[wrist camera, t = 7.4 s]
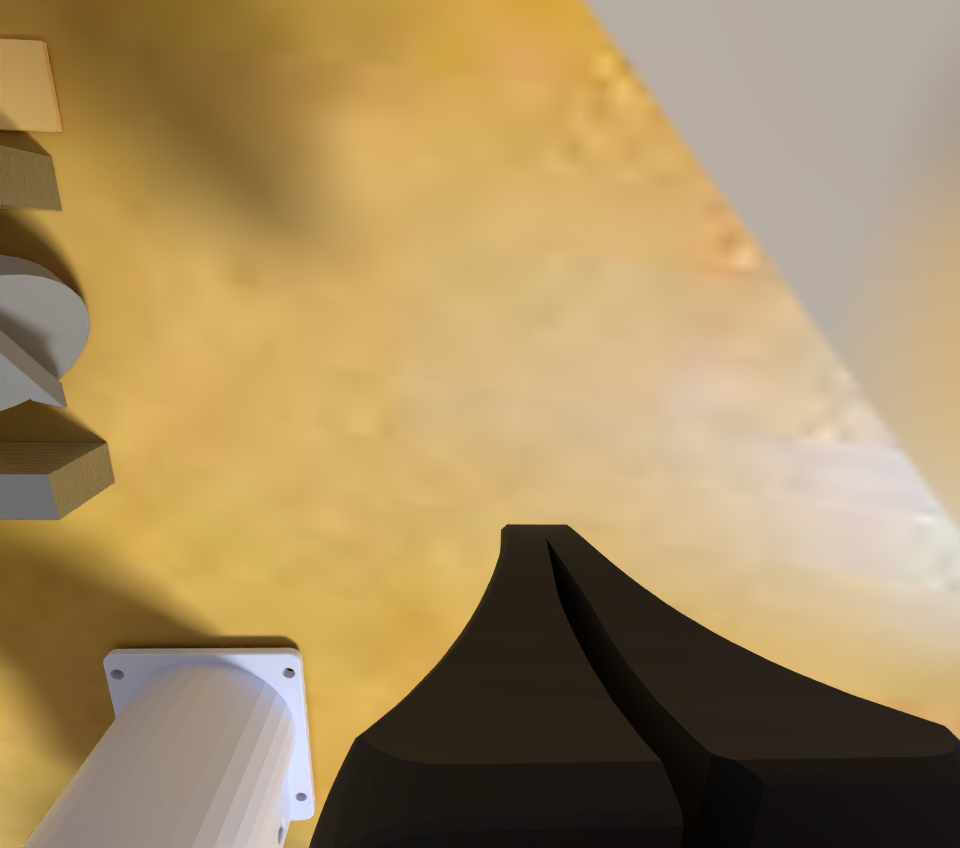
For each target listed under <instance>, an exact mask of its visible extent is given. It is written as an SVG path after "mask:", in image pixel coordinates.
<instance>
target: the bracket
mask: <svg viewBox="0 0 960 848" xmlns="http://www.w3.org/2000/svg"><path fill="white" fill-rule="evenodd" d="M0 209H12V210H46V211H62V210H61V204H60V199H59V194H58V189H57V184H56V179H55V174H54V168H53V163H52V158H51V157H50V156H46V155H42V154H38V153H33V152H29V151H25V150H20V149H16V148H12V147H8V146H3V145H0ZM113 483H115V482H114V477H113V472H112V467H111V462H110V456H109V451H108V446H107V443H82V442H0V520H60V519H61V518H63V517H64V516H66V515H67V514H69V513H70V512H72V511H73V510H75V509H76V508H78V507H79V506H80V505H82V504H83V503H85V502H86V501H88V500H89V499H91V498H92V497H94V496H95V495H97V494H98V493H100V492H101V491H103V490H104V489H106V488H107V487H109V486H110V485H112V484H113Z"/></svg>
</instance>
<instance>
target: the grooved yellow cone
mask: <svg viewBox="0 0 960 848" xmlns="http://www.w3.org/2000/svg"><path fill="white" fill-rule="evenodd" d="M89 320H90V319H89V315H88V311H87V308H86V306H85V304H84V303H83V301H82V299H81V298H80V297H79V296H78V295H77V294H76V293H75V292H74V291H73V290H72V289H71V288H69V287H68V286H67V285H66V284H65V283H64V282H62V281H61V280H60V279H59V278H58V277H57V276H55V275H54V274H53V273H52V272H51V271H49V270H48V269H46V268H44V267H42V266H41V265H39V264H37V263H35V262H32V261H29V260H26V259H23V258H19V257H12V256H6V255H0V411H2V410H5V409H8V408H11V407H14V406H16V405H18V404H20V403H23V402H25V401H27V400H29V399H31V400H32V401H36V402H41V403H45V404H49V405H54V406H58V407H62V408H65V407H67V404H66V399H65V395H64V391H63V387H62V383H60V382H59V381H58V380H59V379H60V378H61V377H62V376H63V375H64V374H65V373H66V372H67V371H68V370H69V369H70V368H71V367H72V365H73V364H74V363H75V361H76V360H77V359H78V357H79V356H80V354H81V352H82V350H83V348H84V346H85V344H86V341H87V338H88V334H89Z"/></svg>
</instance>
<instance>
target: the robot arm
mask: <svg viewBox="0 0 960 848" xmlns="http://www.w3.org/2000/svg"><path fill="white" fill-rule="evenodd" d="M103 665H104V669H105V674H106V678H107V682H108V687H109V691H110V696H111V700H112V705H113V709H114V713H115V718H116V719H115V720H114V722H113V723H112V724H111V726H110V727H109V728H108V730H107V731H106V733H105V734H104V735H103V737H102V738H101V739H100V741H99V742H98V743H97V745H96V746H95V748H94V749H93V750H92V752H91V753H90V754H89V756H88V757H87V758H86V760H85V761H84V763H83V764H82V765H81V767H80V768H79V769H78V771H77V772H76V774H75V775H74V776H73V778H72V779H71V780H70V782H69V783H68V784H67V786H66V787H65V789H64V790H63V791H62V793H61V794H60V795H59V797H58V798H57V799H56V801H55V802H54V804H53V805H52V806H51V808H50V809H49V810H48V812H47V813H46V815H45V816H44V817H43V819H42V820H41V821H40V823H39V824H38V825H37V827H36V828H35V830H34V831H33V832H32V834H31V835H30V836H29V838H28V839H27V840H26V842H25V843H24V845H23V846H22V847H21V848H283V845H284V841H285V838H286V835H287V831H288V828H289V824H290V821H291V820H307V819H309V818H311V817H312V816H313V814H314V810H315V795H314V784H313V773H312V762H311V751H310V740H309V729H308V717H307V706H306V695H305V684H304V673H303V662H302V656H301V653H300V652H299V651H298V650H296V649H294V648H164V649H114V650H112V651H110V652H109V653H108V655H107V656H106V657H105V658H104V660H103ZM286 668H291V669H293V670H294V671H288V670H287V669H286ZM118 670H120V671H122V672H120V671H118ZM309 848H960V740H959V739H958V738H957V737H956V736H955V735H954V734H953V733H952V732H951V731H950V730H949V729H948V728H946V727H945V726H943V725H940V724H937V723H934V722H931V721H928V720H925V719H922V718H919V717H916V716H913V715H910V714H907V713H904V712H901V711H898V710H895V709H892V708H890V707H887V706H884V705H881V704H878V703H875V702H872V701H869V700H866V699H863V698H860V697H857V696H854V695H851V694H849V693H846V692H843V691H841V690H838V689H836V688H833V687H831V686H828V685H826V684H823V683H821V682H818V681H816V680H813V679H811V678H808V677H806V676H803V675H801V674H798V673H796V672H794V671H792V670H789V669H787V668H785V667H783V666H780V665H778V664H776V663H774V662H771V661H769V660H767V659H765V658H763V657H761V656H759V655H757V654H755V653H753V652H751V651H749V650H747V649H745V648H743V647H741V646H739V645H737V644H735V643H733V642H731V641H729V640H727V639H725V638H723V637H721V636H719V635H718V634H716V633H714V632H712V631H710V630H709V629H707V628H705V627H704V626H702V625H700V624H699V623H697V622H695V621H694V620H692V619H690V618H688V617H687V616H685V615H683V614H682V613H680V612H679V611H677V610H675V609H674V608H672V607H671V606H669V605H668V604H666V603H665V602H663V601H662V600H660V599H659V598H658V597H656V596H655V595H653V594H652V593H651V592H649V591H648V590H646V589H645V588H644V587H642V586H641V585H639V584H638V583H637V582H636V581H634V580H633V579H632V578H630V577H629V576H628V575H626V574H625V573H624V572H623V571H621V570H620V569H619V568H618V567H617V566H615V565H614V564H613V563H612V562H610V561H609V560H608V559H607V558H606V557H605V556H603V555H602V554H601V553H600V552H599V551H598V550H596V549H595V548H594V547H593V546H592V545H591V544H589V543H588V542H587V541H586V540H585V539H584V538H583V537H581V536H580V535H579V534H578V533H577V532H576V531H574V530H573V529H572V528H571V527H569V526H568V525H512V524H507V525H506V526H505V527H504V528H503V529H501V548H500V555H499V558H498V561H497V564H496V567H495V570H494V573H493V575H492V578H491V580H490V582H489V584H488V587H487V589H486V591H485V593H484V595H483V597H482V599H481V601H480V603H479V605H478V607H477V608H476V610H475V612H474V614H473V615H472V617H471V619H470V620H469V622H468V623H467V625H466V627H465V628H464V630H463V631H462V633H461V634H460V635H459V637H458V638H457V639H456V641H455V642H454V643H453V645H452V646H451V647H450V649H449V650H448V651H447V653H446V654H445V655H444V656H443V658H442V659H441V660H440V661H439V662H438V664H437V665H436V666H435V667H434V668H433V669H432V670H431V671H430V672H429V673H428V674H427V675H426V676H425V678H424V679H423V680H422V681H421V682H420V683H419V684H418V685H417V686H416V687H415V688H414V689H413V690H412V691H411V692H410V693H409V694H408V695H407V696H406V697H405V698H404V699H403V700H402V701H401V702H400V703H398V704H397V705H396V706H395V707H394V708H393V709H391V710H390V711H389V712H388V713H387V714H385V715H384V716H383V717H382V718H380V719H379V720H378V721H377V722H376V723H374V724H373V725H372V726H371V727H370V728H368V729H367V730H366V731H365V732H363V733H362V734H360V735H359V736H358V737H357V738H355V740H354V742H353V744H352V746H351V748H350V750H349V752H348V754H347V756H346V758H345V760H344V762H343V764H342V766H341V768H340V770H339V772H338V774H337V777H336V779H335V781H334V783H333V786H332V788H331V790H330V792H329V794H328V797H327V799H326V802H325V804H324V807H323V809H322V812H321V815H320V817H319V820H318V823H317V826H316V828H315V831H314V834H313V837H312V839H311V843H310V846H309Z"/></svg>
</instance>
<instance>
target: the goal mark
mask: <svg viewBox="0 0 960 848" xmlns="http://www.w3.org/2000/svg"><path fill="white" fill-rule="evenodd" d="M0 130H5V131H33V132H60V133H63V130H62V125H61V119H60V114H59V109H58V103H57V98H56V92H55V87H54V82H53V76H52V71H51V66H50V60H49V55H48V50H47V44H46V43H45V42H43V41H39V40H16V39H0Z"/></svg>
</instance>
